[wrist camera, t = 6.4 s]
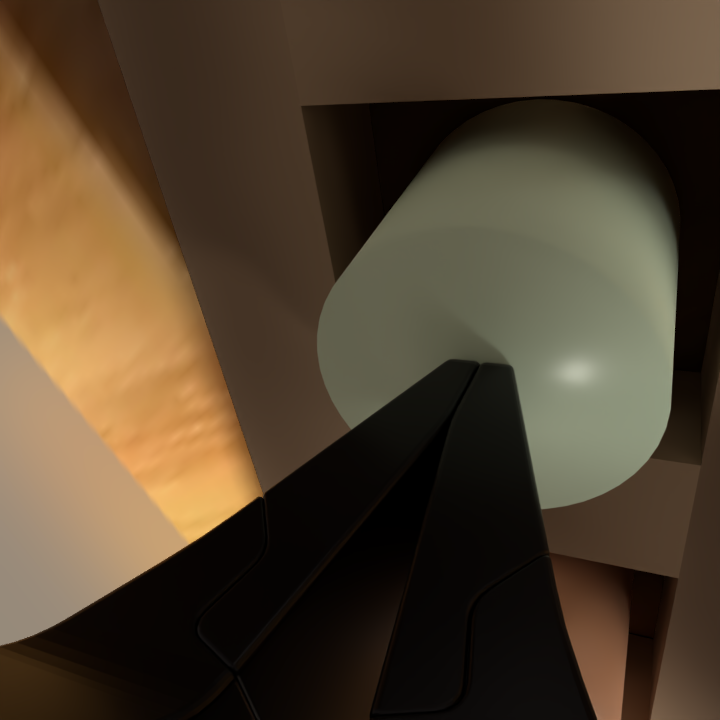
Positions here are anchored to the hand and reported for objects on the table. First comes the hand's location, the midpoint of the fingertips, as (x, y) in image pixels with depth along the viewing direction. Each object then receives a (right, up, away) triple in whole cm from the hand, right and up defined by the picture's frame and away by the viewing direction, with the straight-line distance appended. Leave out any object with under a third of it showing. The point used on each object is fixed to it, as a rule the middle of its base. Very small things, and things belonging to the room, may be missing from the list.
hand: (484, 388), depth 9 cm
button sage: (+1, +3, +3) cm, 4 cm away
